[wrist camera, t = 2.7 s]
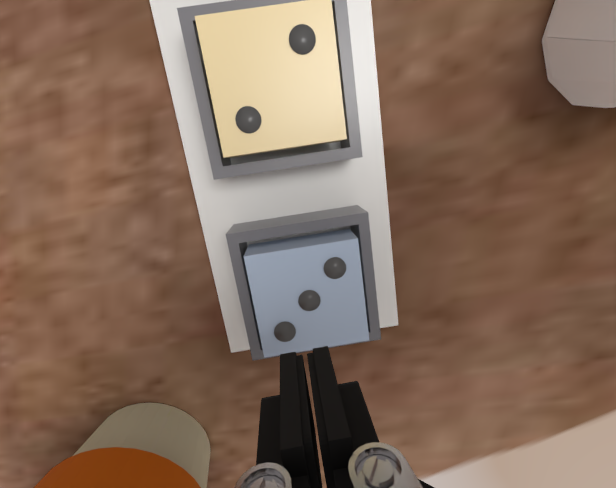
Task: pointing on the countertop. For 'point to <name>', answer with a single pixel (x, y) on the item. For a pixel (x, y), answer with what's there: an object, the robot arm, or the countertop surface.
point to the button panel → (283, 169)
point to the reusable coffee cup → (138, 452)
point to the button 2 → (273, 76)
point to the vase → (582, 51)
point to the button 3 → (307, 292)
